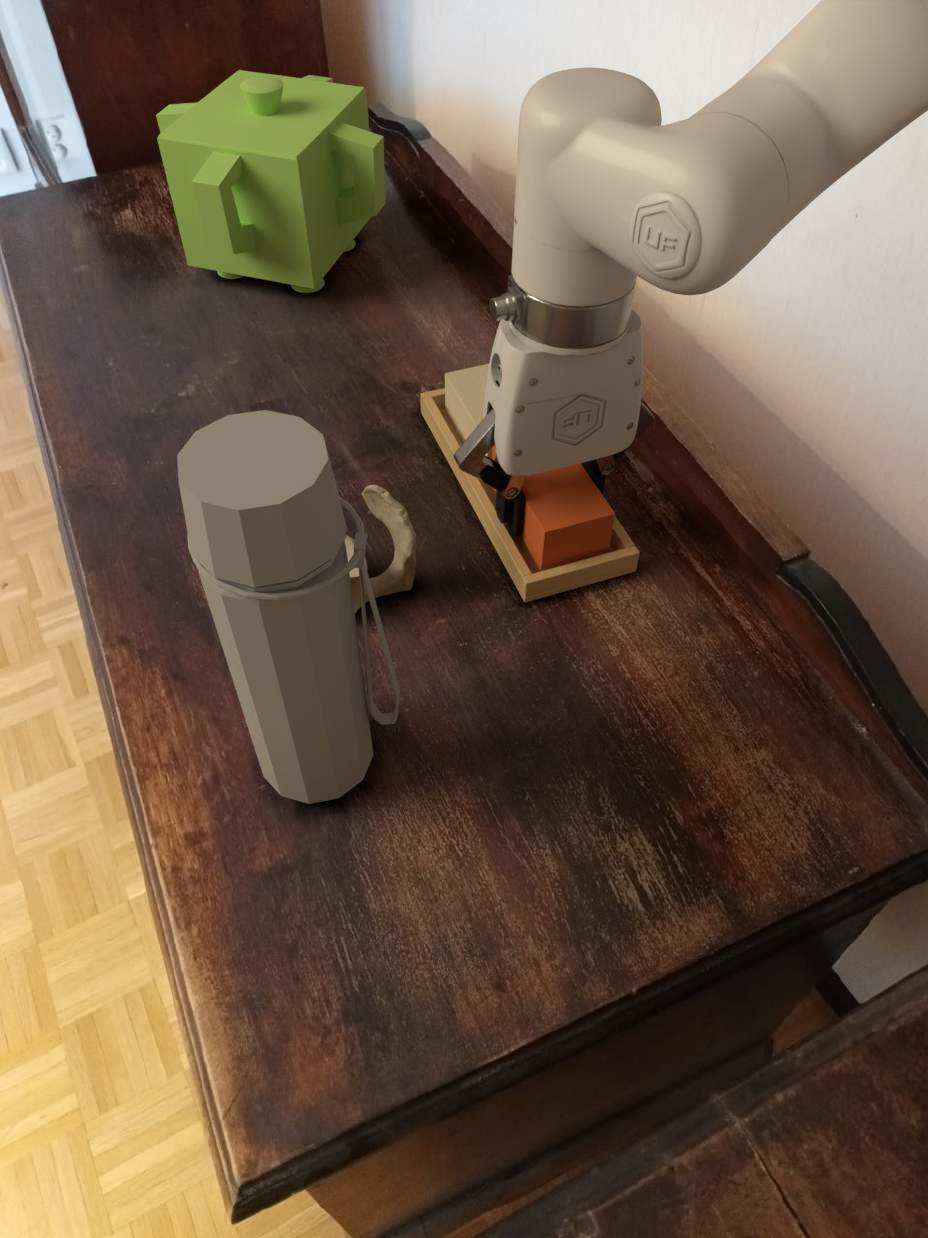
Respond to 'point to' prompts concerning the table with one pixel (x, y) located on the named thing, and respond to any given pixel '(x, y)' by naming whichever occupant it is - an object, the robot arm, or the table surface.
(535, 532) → the orange angular block
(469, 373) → the cream rectangular block
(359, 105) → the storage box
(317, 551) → the water bottle
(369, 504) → the bone
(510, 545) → the wooden tray
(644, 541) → the table surface
